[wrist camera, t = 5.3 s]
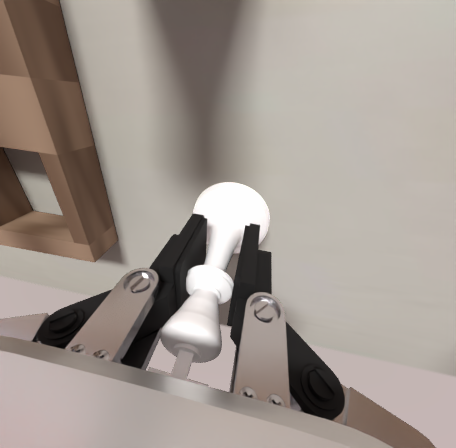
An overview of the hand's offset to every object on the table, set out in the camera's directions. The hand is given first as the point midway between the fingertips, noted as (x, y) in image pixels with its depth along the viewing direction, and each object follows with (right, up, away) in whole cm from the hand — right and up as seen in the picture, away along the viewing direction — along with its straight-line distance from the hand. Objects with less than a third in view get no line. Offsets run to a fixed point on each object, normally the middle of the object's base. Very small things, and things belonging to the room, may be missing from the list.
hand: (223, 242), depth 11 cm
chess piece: (0, +1, +2) cm, 3 cm away
